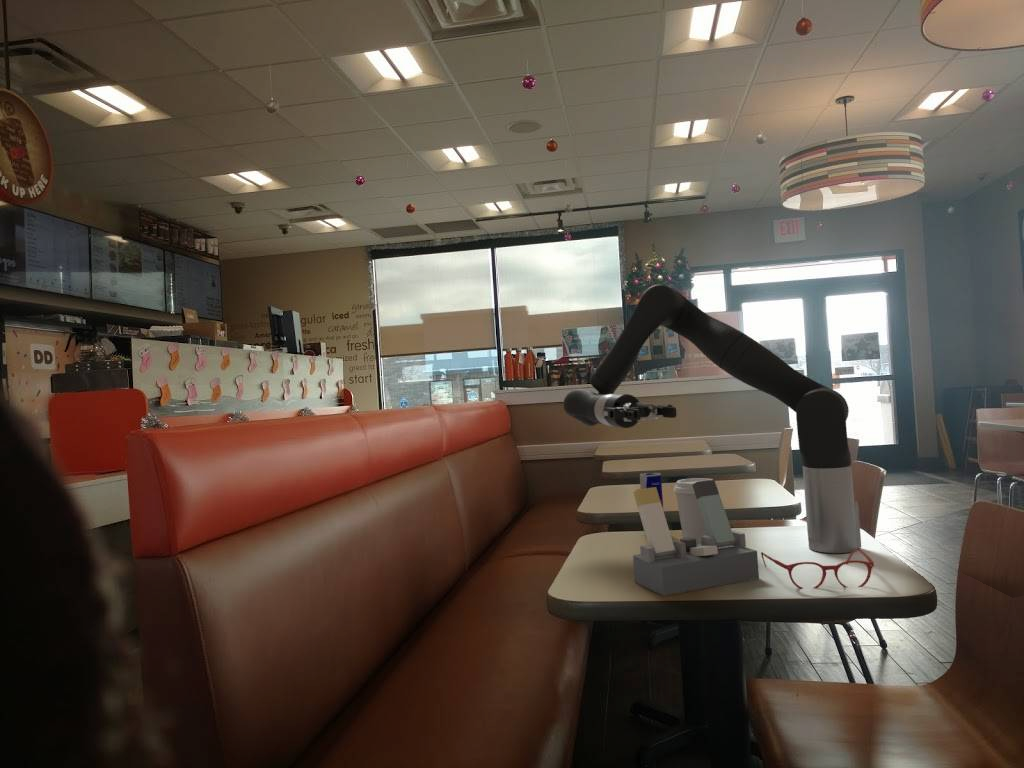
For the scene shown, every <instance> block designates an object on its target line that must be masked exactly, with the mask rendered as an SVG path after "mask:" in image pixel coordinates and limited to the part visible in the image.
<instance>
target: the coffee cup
mask: <svg viewBox="0 0 1024 768" xmlns="http://www.w3.org/2000/svg"><path fill="white" fill-rule="evenodd" d="M707 480H714V479H713V478H706V477H705V478H702V477H697V478H696V477H692V478H684V479H678V480H677V481H676V482H675V486H674V488H673V492H674V493H675V495H676V502H677V508H678V514H679V520H680V526H681V533H682V538H695V539H696V542H697V545H700V544H701V536H705V535H706V536H709V535H708V532H707V529H706V526H705V523H704V520H703V517H702V513H701V510H700V507H699V504H698V501H697V498H696V495H695V492H694V489H693V486H692V485H693V484H694V483H696V482H700V481H707ZM716 486H717V489H718V491H719V487H718V485H717V484H716Z"/></svg>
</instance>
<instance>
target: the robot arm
mask: <svg viewBox="0 0 1024 768" xmlns="http://www.w3.org/2000/svg"><path fill="white" fill-rule="evenodd" d="M659 327H663V328H667V329H668V330H670V331H672V332H674V333H676V334H677V335H679V336H681V337H683V338H684V339H686V340H687V341H689V342H690V343H691V344H693V345H694V346H695V347H696V348H697V349H698V350H699V351H700V352H701V353H702V355H704V356H705V357H706V358H707V359H708V360H709V361H711V363H713V364H714V365H716V366H717V367H718V368H720V369H721V370H723V372H725V373H727V374H729V375H730V376H732V377H733V378H734V379H736V380H737V381H740V382H742V383H744V384H745V385H747V386H749V387H751V388H754V389H756V390H758V391H760V392H763V393H765V394H767V395H770V396H772V397H774V398H775V399H777V400H778V401H780V402H781V403H783V404H784V405H786V406H787V407H788V408H789V409H791V411H793V412H795V413H796V415H795V416H796V418H795V419H796V430H797V439H798V449H799V453H800V456H801V461H802V462H801V463H802V474H803V475H802V476H803V477H802V478H803V490H804V500H805V501H804V502H805V517H806V526H807V527H806V528H807V530H806V531H807V538H808V548H809V550H812V551H815V552H820V553H827V554H845V553H851V552H852V551H853V550H855V549H861V548H862V536H861V524H860V512H859V511H860V509H859V503H858V501H857V500H855V498H854V497H855V495H854V484H853V483H854V482H853V473H852V472H853V471H852V457H851V452H850V447H849V443H848V432H847V419H848V418H849V411H850V410H849V405H848V402H847V401H846V399H845V397H844V395H842V394H840V392H838V391H836V390H834V389H831V388H829V387H828V386H826V385H823V384H822V383H819V382H817V381H816V380H814V379H812V378H809V377H808V376H806V375H804V374H802V373H800V372H799V371H798V370H796V369H794V368H793V367H792V366H790V365H789V364H788V363H787V362H785V361H784V359H782V358H780V357H779V356H778V355H776V354H775V353H773V352H772V351H771V350H769V348H766V346H764V345H762V344H761V343H759V342H758V341H756V340H755V339H753V338H752V337H750V336H749V335H747V334H745V333H743V332H742V331H741V330H738V329H737V328H735V327H733V326H731V325H729V324H727V323H725V322H723V321H721V320H719V319H716V318H714V317H712V316H710V315H709V314H707V313H706V312H705V311H703V310H702V309H700V308H699V307H698V306H697V305H696V304H694V303H692V302H691V301H690V300H689V299H688V298H687V297H686V296H684V295H683V294H682V293H681V292H680V291H679V290H677V289H676V288H673V287H671V286H669V285H666V284H660V283H659V284H654V285H651V286H650V287H648V288H647V289H646V290H645V291H644V292H643V293H642V295H641V296H640V299H639V300H638V302H637V304H636V306H635V307H634V309H633V312H632V313H631V315H630V317H629V319H628V320H627V323H626V324H625V326H624V328H623V330H622V331H621V333H620V334H619V336H618V338H617V339H616V341H615V342H614V344H613V345H612V347H611V348H610V350H609V351H608V352H607V354H605V356H604V357H603V359H602V360H601V362H600V363H599V364H598V365H597V367H596V368H595V370H594V371H593V372H592V374H590V376H589V383H590V385H591V386H592V387H593V388H594V390H595V391H597V392H598V393H596V392H592V391H591V390H588V389H587V390H586V389H583V388H576V389H573V390H571V391H569V392H568V393H567V394H566V395H565V397H564V399H563V402H562V403H563V409H564V412H565V413H566V414H567V415H568V416H570V417H572V418H574V419H576V420H577V421H580V422H581V423H582V424H585V425H586V426H589V427H593V426H596V425H598V424H599V425H601V424H602V425H606V426H608V427H614V428H622V429H630V428H632V427H634V426H636V425H637V424H638V422H639V421H640V422H641V421H646V420H647V421H648V420H651V421H652V420H658V418H663V419H666V418H669V419H673V418H674V419H675V418H676V417H677V408H676V407H675V406H673V405H672V404H658V403H656V402H655V403H654V402H653V403H650V402H648V403H645V402H643V401H641V402H640V400H639V399H638V398H636V396H634V395H632V394H628V393H627V394H626V393H615V392H616V390H617V389H618V388H619V387H620V385H621V384H622V383H623V381H624V380H625V379H626V377H627V376H628V374H629V373H630V371H632V368H633V367H634V365H635V362H636V361H637V358H638V356H639V354H640V351H641V349H642V348H643V346H644V344H645V343H646V342H647V340H648V339H649V338H650V336H651V335H652V334H653V333H654V332H655V331H656V330H657V329H658V328H659ZM650 415H652V416H650Z"/></svg>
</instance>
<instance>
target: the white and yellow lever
mask: <svg viewBox="0 0 1024 768" xmlns="http://www.w3.org/2000/svg"><path fill="white" fill-rule="evenodd" d="M632 493H633V496H634V499H635V503H636V506H637V509H638V512H639V513H638V514H639V516H640V520H641V523H642V524H641V525H642V528H643V532H644V531H645V532H644V534H645V538H646V542H647V544H648V545H647V546H649V547H652V548H654V558H659V557H665V556H671V555H676V554H677V550H676V548H675V547H674V544H673V538H672V535H671V532H670V527H669V526H668V522H667V518H666V516H665V510H664V507H663V508H662V505H661V502H660V498H659V495H658V492H657V488H656V487H652V488H644V489H641V488H638V489H635V491H633V492H632ZM663 510H664V511H663Z"/></svg>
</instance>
